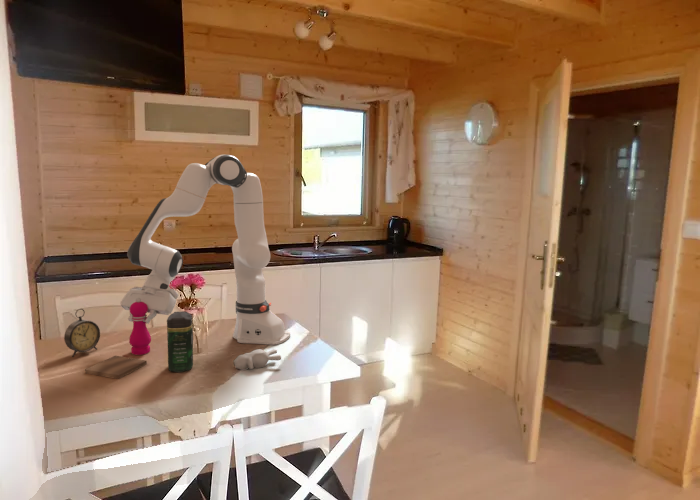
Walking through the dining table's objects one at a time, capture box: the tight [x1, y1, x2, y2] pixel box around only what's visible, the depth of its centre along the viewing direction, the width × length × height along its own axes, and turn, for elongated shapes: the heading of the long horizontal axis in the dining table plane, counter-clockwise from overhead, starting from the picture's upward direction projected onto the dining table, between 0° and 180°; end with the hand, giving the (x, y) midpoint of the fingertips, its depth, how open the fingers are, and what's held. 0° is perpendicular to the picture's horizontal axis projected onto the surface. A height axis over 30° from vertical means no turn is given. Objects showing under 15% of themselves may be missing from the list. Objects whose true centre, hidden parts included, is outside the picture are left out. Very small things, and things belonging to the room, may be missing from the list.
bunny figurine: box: [233, 348, 282, 371], centre depth 171 cm, size 10×5×15 cm
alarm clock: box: [63, 308, 101, 358], centre depth 178 cm, size 11×5×16 cm, turn 148°
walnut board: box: [84, 355, 148, 380], centre depth 167 cm, size 13×13×1 cm
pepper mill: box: [128, 298, 152, 356], centre depth 180 cm, size 7×7×20 cm
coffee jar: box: [166, 311, 194, 373], centre depth 167 cm, size 10×8×19 cm
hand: (138, 321), depth 179 cm, fingers closed on pepper mill, 5 cm apart
